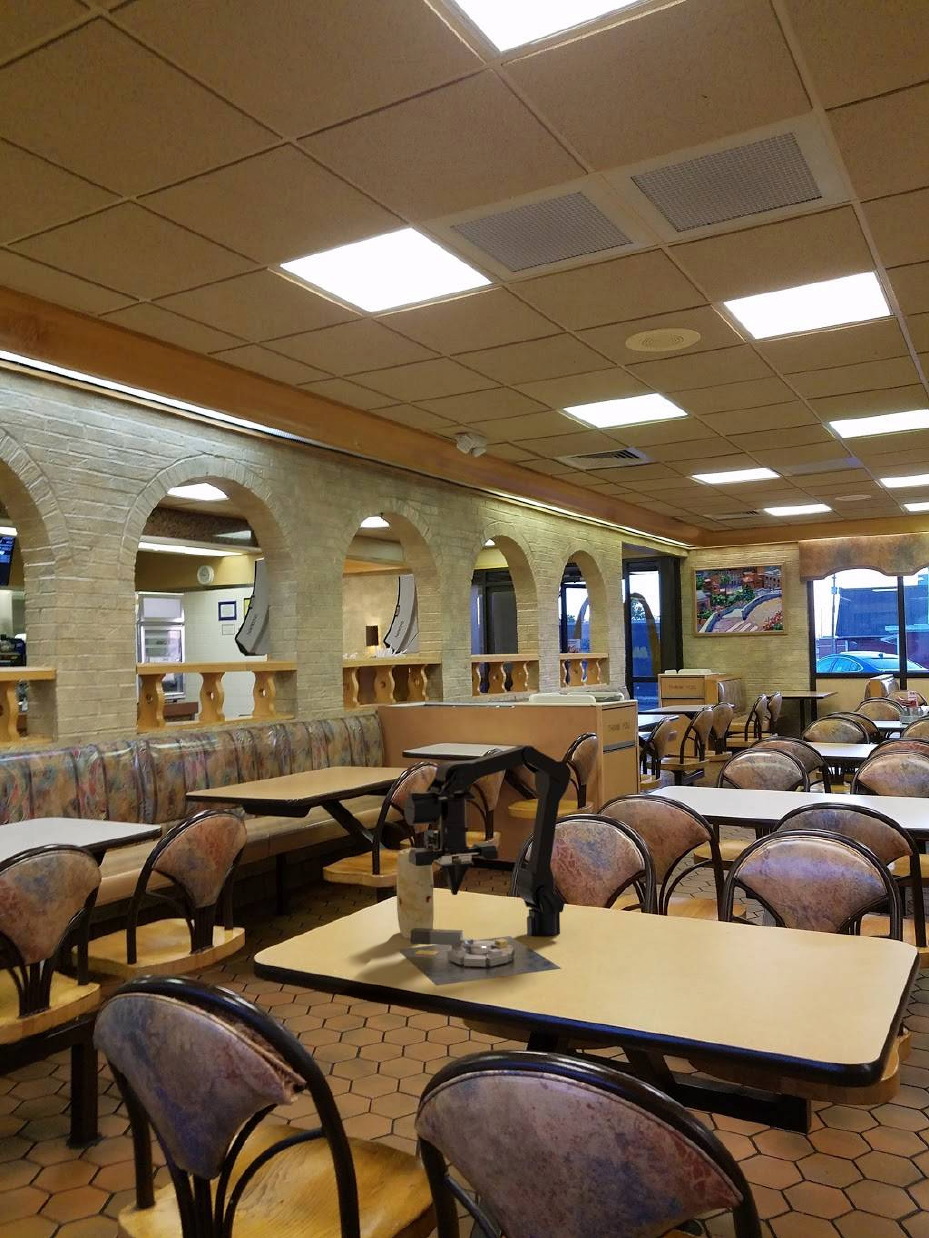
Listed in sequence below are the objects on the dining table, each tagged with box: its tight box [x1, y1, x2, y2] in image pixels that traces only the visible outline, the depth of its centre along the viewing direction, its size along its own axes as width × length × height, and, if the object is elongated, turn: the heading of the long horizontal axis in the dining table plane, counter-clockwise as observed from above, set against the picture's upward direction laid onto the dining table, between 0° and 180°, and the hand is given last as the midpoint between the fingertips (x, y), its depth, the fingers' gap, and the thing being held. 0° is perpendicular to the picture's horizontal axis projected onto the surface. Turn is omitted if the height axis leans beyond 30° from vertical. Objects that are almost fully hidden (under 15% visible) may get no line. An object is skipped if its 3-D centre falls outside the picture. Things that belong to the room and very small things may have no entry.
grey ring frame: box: [410, 928, 514, 967], centre depth 201 cm, size 21×13×5 cm, turn 78°
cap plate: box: [397, 935, 562, 986], centre depth 200 cm, size 26×26×3 cm
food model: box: [396, 847, 435, 939], centre depth 220 cm, size 10×7×20 cm
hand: (454, 894), depth 209 cm, fingers closed
